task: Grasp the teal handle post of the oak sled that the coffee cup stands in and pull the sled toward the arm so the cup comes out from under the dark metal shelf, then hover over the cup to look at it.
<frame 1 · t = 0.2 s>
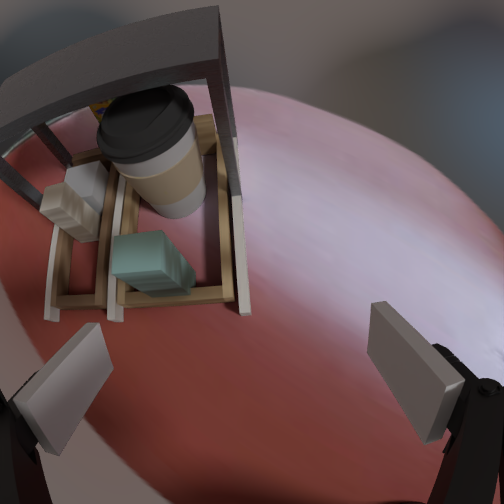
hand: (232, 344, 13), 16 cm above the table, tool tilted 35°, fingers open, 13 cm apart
coffee cup: (179, 194, 35), resting in sled a
lane rails: (140, 223, 34), on the table
grey block: (97, 200, 36), resting in sled b
sled a: (163, 194, 29), point 6 cm above the table, slide at 0.0 cm
sled b: (73, 215, 30), point 5 cm above the table, slide at 0.0 cm
shelf: (144, 181, 36), on the table
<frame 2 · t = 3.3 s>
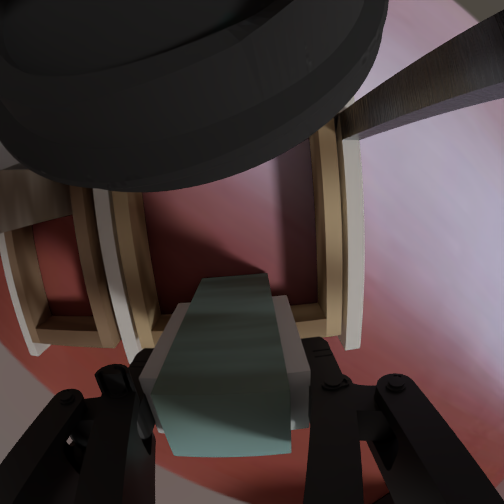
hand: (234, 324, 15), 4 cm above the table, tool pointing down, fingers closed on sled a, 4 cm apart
coffee cup: (219, 111, 16), resting in sled a
lane rails: (146, 177, 17), on the table
grey block: (54, 132, 16), resting in sled b
sled a: (212, 160, 11), point 6 cm above the table, slide at 0.0 cm, touching gripper
sled b: (14, 201, 13), point 5 cm above the table, slide at 0.0 cm
shelf: (141, 86, 16), on the table
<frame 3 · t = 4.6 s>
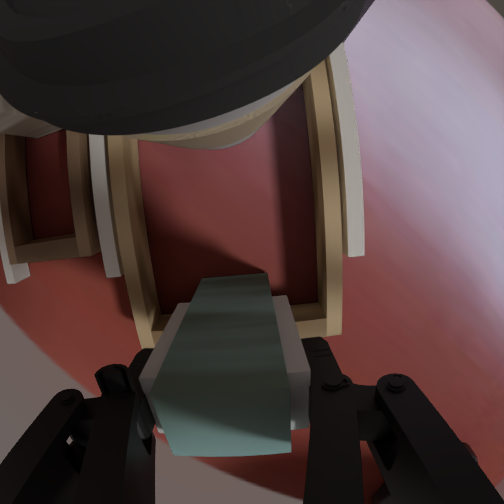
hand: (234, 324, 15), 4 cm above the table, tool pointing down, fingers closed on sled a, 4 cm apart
coffee cup: (216, 95, 16), resting in sled a
lane rails: (141, 86, 16), on the table
sled a: (211, 159, 11), point 6 cm above the table, slide at 6.0 cm, touching coffee cup, gripper
sled b: (13, 102, 11), point 5 cm above the table, slide at 0.0 cm
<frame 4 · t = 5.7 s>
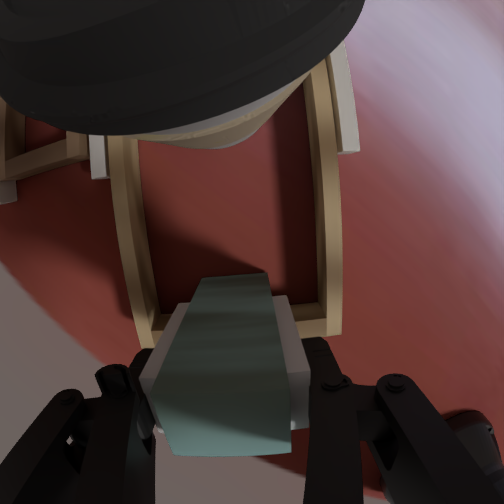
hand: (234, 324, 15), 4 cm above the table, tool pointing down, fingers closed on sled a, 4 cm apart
coffee cup: (216, 95, 16), resting in sled a
lane rails: (142, 15, 14), on the table
sled a: (212, 159, 11), point 6 cm above the table, slide at 11.8 cm, touching coffee cup, gripper
sled b: (25, 24, 10), point 5 cm above the table, slide at 0.0 cm
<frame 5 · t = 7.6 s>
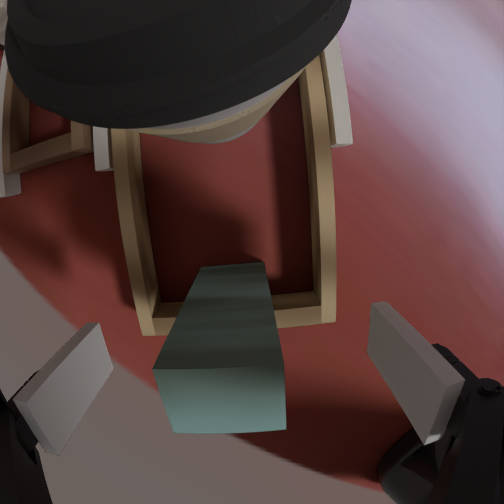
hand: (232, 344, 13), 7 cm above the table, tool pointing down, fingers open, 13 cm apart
coffee cup: (215, 92, 17), resting in sled a
lane rails: (144, 14, 15), on the table
sled a: (211, 152, 12), point 6 cm above the table, slide at 11.9 cm
sled b: (30, 22, 10), point 5 cm above the table, slide at 0.0 cm
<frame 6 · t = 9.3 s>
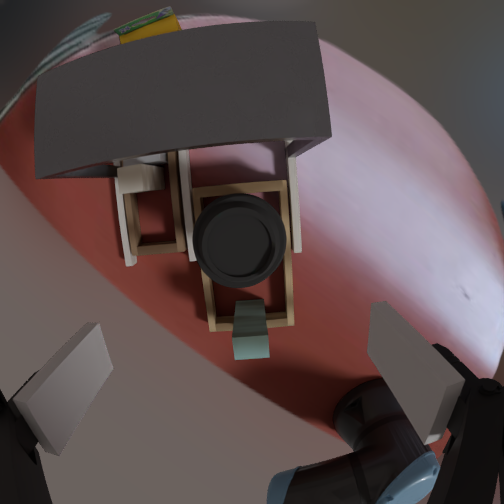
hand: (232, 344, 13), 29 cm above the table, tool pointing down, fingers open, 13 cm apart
coffee cup: (242, 223, 41), resting in sled a
lane rails: (203, 173, 39), on the table
grey block: (152, 148, 39), resting in sled b
sled a: (245, 267, 36), point 6 cm above the table, slide at 11.9 cm
sled b: (143, 179, 35), point 5 cm above the table, slide at 0.0 cm
shelf: (199, 130, 38), on the table
crayon box: (167, 60, 36), on the table
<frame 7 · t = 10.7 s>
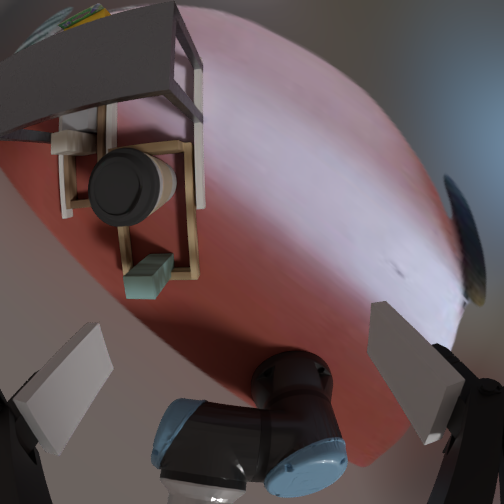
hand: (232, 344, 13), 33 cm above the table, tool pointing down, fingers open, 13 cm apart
coffee cup: (155, 183, 43), resting in sled a
lane rails: (126, 139, 41), on the table
grey block: (90, 119, 40), resting in sled b
sled a: (145, 217, 39), point 6 cm above the table, slide at 11.9 cm
sled b: (75, 143, 37), point 5 cm above the table, slide at 0.0 cm
shelf: (127, 103, 40), on the table
crayon box: (109, 46, 37), on the table
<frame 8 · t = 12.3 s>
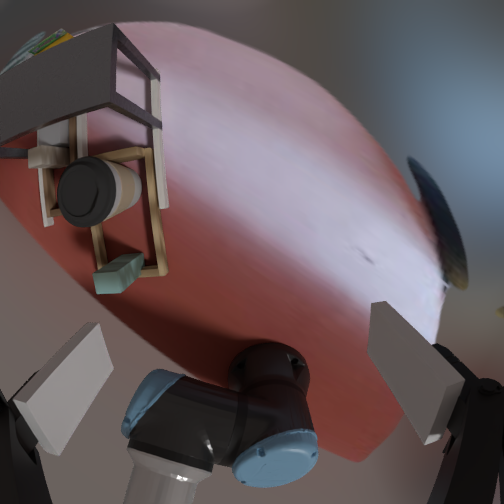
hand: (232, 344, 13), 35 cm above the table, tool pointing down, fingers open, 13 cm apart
coffee cup: (123, 188, 45), resting in sled a
lane rails: (96, 150, 44), on the table
grey block: (64, 134, 43), resting in sled b
sled a: (112, 219, 41), point 6 cm above the table, slide at 11.9 cm
sled b: (50, 157, 39), point 5 cm above the table, slide at 0.0 cm
shelf: (95, 117, 42), on the table
crayon box: (78, 65, 40), on the table
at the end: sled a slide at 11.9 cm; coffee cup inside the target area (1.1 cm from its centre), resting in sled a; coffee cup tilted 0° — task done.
